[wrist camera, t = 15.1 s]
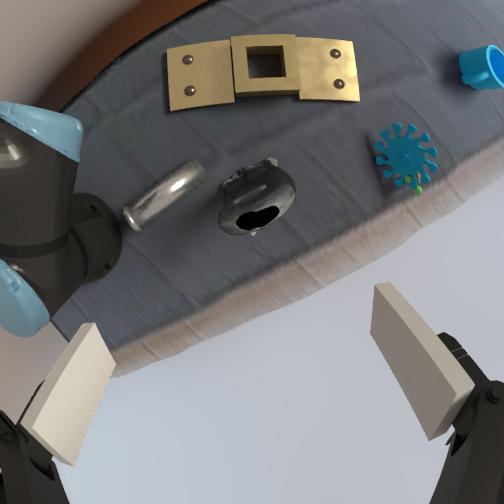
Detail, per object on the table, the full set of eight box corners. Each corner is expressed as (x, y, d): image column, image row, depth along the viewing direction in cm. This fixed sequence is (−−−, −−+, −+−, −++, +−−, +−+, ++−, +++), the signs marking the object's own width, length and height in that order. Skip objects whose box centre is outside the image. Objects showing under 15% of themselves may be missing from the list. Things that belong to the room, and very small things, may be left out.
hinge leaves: (172, 111, 35) (164, 108, 32) (168, 51, 32) (161, 42, 28) (357, 101, 35) (367, 98, 31) (349, 43, 31) (359, 35, 28)
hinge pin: (204, 175, 40) (137, 224, 39) (190, 153, 37) (120, 204, 36) (213, 184, 37) (140, 237, 36) (198, 159, 34) (121, 216, 33)
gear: (364, 130, 36) (426, 118, 28) (376, 124, 39) (431, 113, 32) (385, 199, 40) (444, 195, 32) (394, 186, 43) (447, 181, 35)
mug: (471, 46, 29) (497, 40, 21) (490, 82, 31) (516, 80, 24) (442, 64, 31) (470, 57, 24) (464, 103, 34) (493, 102, 26)
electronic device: (229, 212, 41) (221, 249, 27) (214, 178, 39) (197, 197, 25) (289, 190, 40) (312, 215, 26) (276, 154, 38) (293, 160, 24)
